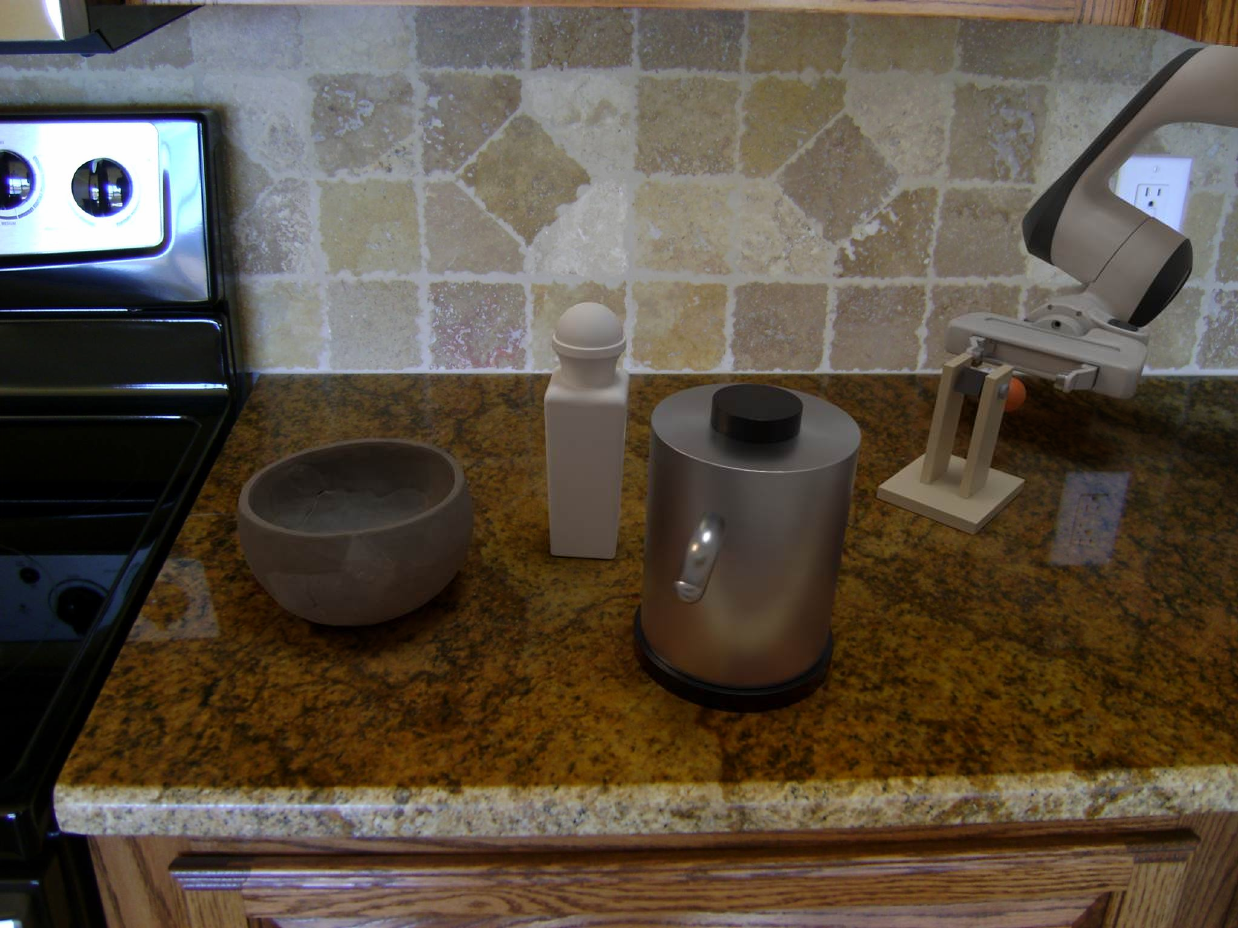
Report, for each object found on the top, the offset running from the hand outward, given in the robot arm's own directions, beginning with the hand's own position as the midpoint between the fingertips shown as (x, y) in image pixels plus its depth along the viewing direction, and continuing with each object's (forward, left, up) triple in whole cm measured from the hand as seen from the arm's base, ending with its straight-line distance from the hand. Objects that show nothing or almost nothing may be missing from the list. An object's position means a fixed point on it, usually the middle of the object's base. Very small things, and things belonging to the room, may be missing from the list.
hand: (1014, 371), depth 96 cm
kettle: (-10, +45, -10) cm, 47 cm away
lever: (-2, +6, -2) cm, 7 cm away
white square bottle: (+8, +47, -10) cm, 48 cm away
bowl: (+11, +66, -10) cm, 67 cm away
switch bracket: (-3, +11, -10) cm, 15 cm away
